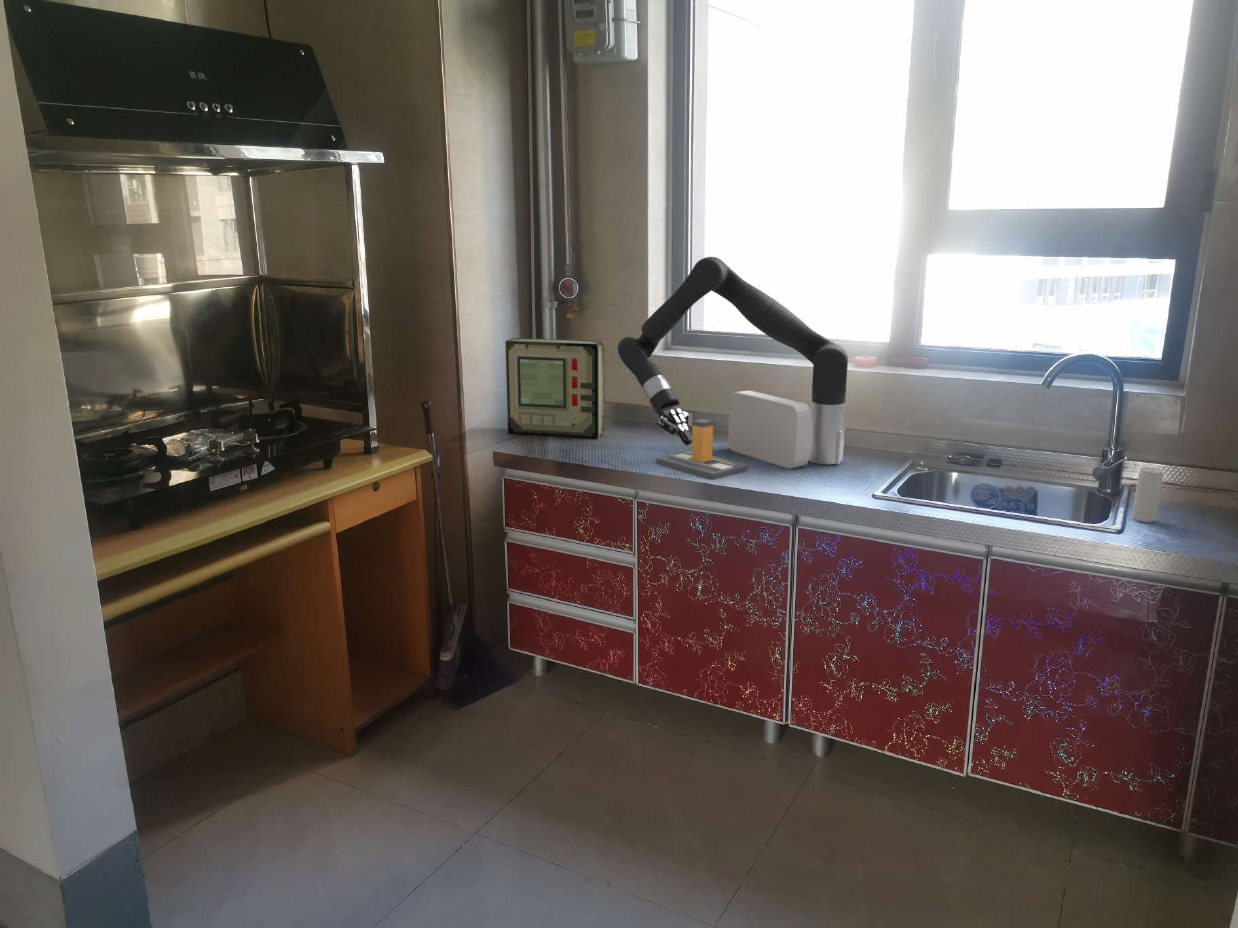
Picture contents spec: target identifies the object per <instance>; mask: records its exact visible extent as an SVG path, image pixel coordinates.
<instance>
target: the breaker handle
mask: <svg viewBox="0 0 1238 928" xmlns="http://www.w3.org/2000/svg"><path fill="white" fill-rule="evenodd" d="M714 422H715V421H714V420H711V419H707V418H699V419H695V420H694V419H692V435H691V436H692V443H691V450H692V460H694V461H698V462H702V463H703V462H707V461H711V460H712V456H713V445H714V444H713V443H714V441H713V438H714V425H715V423H714Z"/></svg>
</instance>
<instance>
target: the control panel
mask: <svg viewBox="0 0 1238 928" xmlns="http://www.w3.org/2000/svg"><path fill="white" fill-rule="evenodd" d="M505 368H506V369H505V370H506V371H505V372H506V375H505V376H506V378H505V379H506V403H507V404H506V405H507V407H506V408H507V435H516V436H517V435H520V436H534V437H535V436H537V437H552V438H569V439H571V438H572V439H583V440H599V439H600V438H601V437H603V436H604V435H605V341H604V340H586V339H585V340H583V339H582V340H581V339H556V338H555V339H550V338H525V337H522V338H521V337H512V338H510V339H507V340H505Z"/></svg>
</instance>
